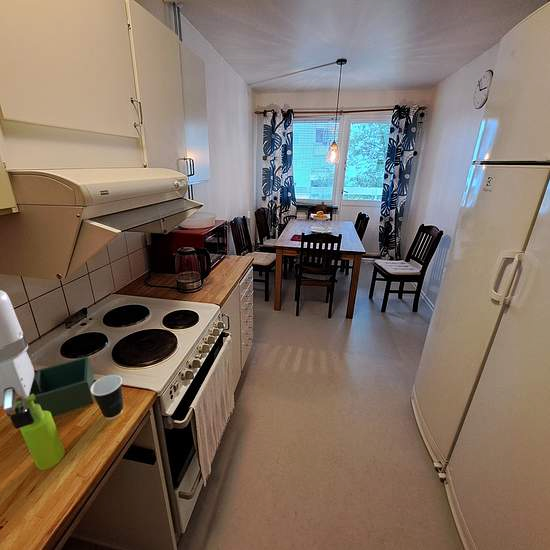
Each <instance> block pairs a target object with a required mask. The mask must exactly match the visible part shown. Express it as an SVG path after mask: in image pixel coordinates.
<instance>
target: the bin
mask: <svg viewBox="0 0 550 550" xmlns="http://www.w3.org/2000/svg"><path fill="white" fill-rule="evenodd" d="M94 377H95V376H94V372H93V369H92V365H91V362H90V358H89V356H84V357H81V358H77V359H72V360H69V361H65V362H61V363H58V364H54V365H51V366H50V365H49V366H47V367H43V368H39V369H37V371H36V374H35V379H34V380H37V382H38V385H39V387H40V390H41V393H40V394H38V395H34V396H35V399H36V400H34V401H33V402H34V404H39V405H40V406H41V409H42V411H49V412H50V413H51V415H52V418H55V417H56V416H59V415H63V414H66V413H69V412H71V411H74V410H77V409H81V408H83V407H87V406H90V405H92V404H94V403H95V402H94V401H95V400H94V399H95V397H94V395H93V394H92V393H91V392H90V388H91V386H92V385H93V383H94V382H95V378H94Z"/></svg>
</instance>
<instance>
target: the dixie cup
mask: <svg viewBox="0 0 550 550" xmlns="http://www.w3.org/2000/svg"><path fill="white" fill-rule="evenodd" d="M122 383H123V378H122V377H121V376H120V375H118V374H117V375H116V374H108V375H105V376H102V377H100V378H98V379H97V380H95V381H94V383H93V385H92V386H91V388H90V392H91V393H92V394H93V395H94V399H95V400H94V401H96V404H97V405H98V408H99V410H100V412H101V414H102V416H103V417H104V418H105V419H106V420H110V421H111V420H115V419H117V418H119V417H120V416H121V415H122V413H123V412H124V400H123V388H122Z"/></svg>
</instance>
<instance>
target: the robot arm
mask: <svg viewBox="0 0 550 550" xmlns="http://www.w3.org/2000/svg"><path fill="white" fill-rule="evenodd" d="M28 348H29V344H28V343H27V339H26V337H25V335H24V332H23V329H22V327H21V324H20V322H19V320H18V317H17V314H16V312H15V309H14V306H13V303H12V302H11V299H10V296H9V295H8V293H7V292H5V291H4V290H1V289H0V407H3V412H4V411H5V412H6V416H7V417H8V418H9V419H10V421H11V423H12V425H13V427H14V429H16V430H17V429H20V428H21V427H24V426H27V425H30V424H32V423H34V418H33V416H32V413H31V411H30V409H29V408H27V406H26V398H27V397H28V395H31V394H33V393H34V395H38V394H40V393H41V390H40V387H39V385H38V382H37V380H35V378H36V374H35V369H34V366H33V363H32V361H31V359H30V356H29V354H28V352H27V350H28ZM17 396H19V397H17ZM16 397H17V398H16ZM18 401H21V406H19V407H16V406H15V404H14V403H15V402H18ZM5 412H4V413H5Z"/></svg>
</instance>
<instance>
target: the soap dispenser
mask: <svg viewBox="0 0 550 550" xmlns="http://www.w3.org/2000/svg"><path fill="white" fill-rule="evenodd" d="M34 400H36V399H35V396H34V393H33V394H31V395H28V397H27V398H26V406H27V408H29V409H30V411H31V413H32V416H33V418H34V423H32V424H30V425H27V426H24V427H21V428H19V430H20V432H21V433H20V434H21V435H22V437H23V440H24V442H25V443H26V446H27V449H28V451H29V453H30V455H31V457H32V460H33V462H34V465H35V467H36V468H37V469H38V470H39V471H45V470H49V469H51V468H53V467H55V466H56V465H58V464H59V463H60V462H61V461H62V460H63V458H64V457H65V456H66V451H65V447H64V444H63V442H62V439H61V437H60V434H59V432H58V429H57V426H56V424H55V420H54V417H52V415H51V413H50V412H49V411H42V409H41V406H40V405H39V404H34V402H33V401H34ZM14 404H15V406H16V407H21V401H18V402H15V403H14ZM3 412H4V413H6V412H5V411H4V410H3ZM6 414H7V413H6Z"/></svg>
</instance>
